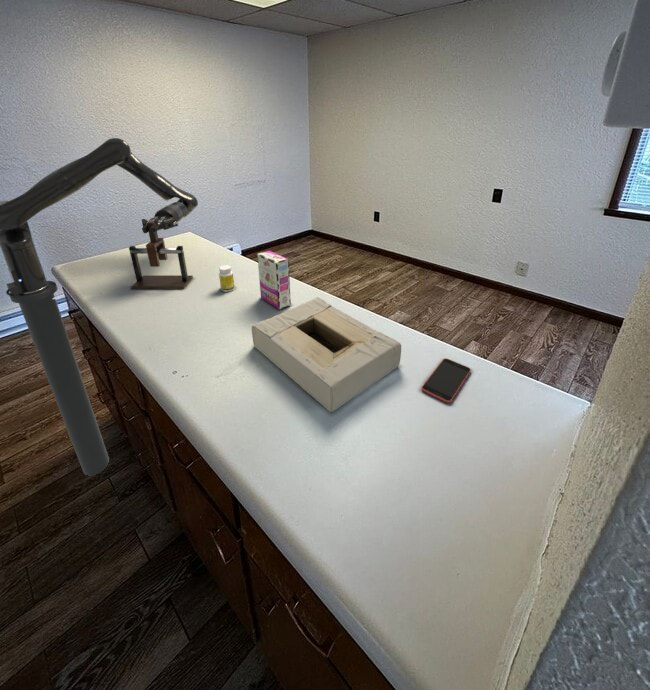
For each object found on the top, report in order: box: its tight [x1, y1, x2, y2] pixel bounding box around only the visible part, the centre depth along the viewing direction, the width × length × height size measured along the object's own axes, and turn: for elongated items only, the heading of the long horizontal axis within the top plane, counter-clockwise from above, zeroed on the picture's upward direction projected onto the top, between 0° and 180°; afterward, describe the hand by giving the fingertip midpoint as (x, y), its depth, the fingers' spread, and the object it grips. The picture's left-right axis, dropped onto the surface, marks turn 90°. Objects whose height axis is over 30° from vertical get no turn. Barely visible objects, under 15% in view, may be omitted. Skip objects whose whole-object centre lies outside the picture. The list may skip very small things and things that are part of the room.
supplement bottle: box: [218, 264, 235, 293], centre depth 127 cm, size 5×5×8 cm
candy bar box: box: [256, 250, 292, 311], centre depth 117 cm, size 11×5×16 cm, turn 42°
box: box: [251, 296, 402, 413], centre depth 92 cm, size 23×8×32 cm
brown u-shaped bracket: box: [145, 222, 168, 268], centre depth 127 cm, size 7×3×15 cm, turn 179°
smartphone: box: [421, 358, 472, 404], centre depth 84 cm, size 7×1×14 cm
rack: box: [128, 245, 194, 290], centre depth 130 cm, size 9×19×15 cm, turn 89°
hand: (148, 230), depth 122 cm, fingers closed on brown u-shaped bracket, 2 cm apart
